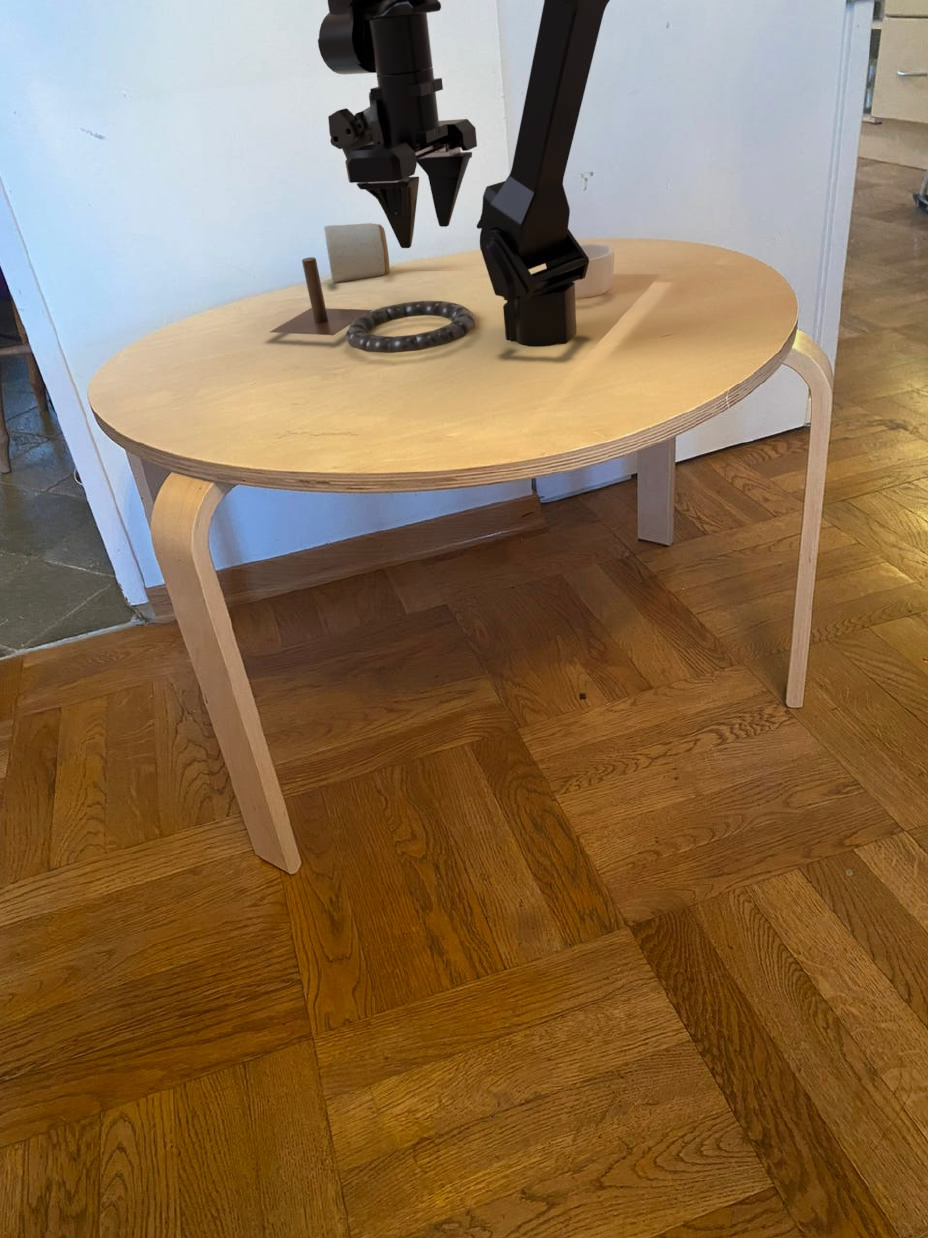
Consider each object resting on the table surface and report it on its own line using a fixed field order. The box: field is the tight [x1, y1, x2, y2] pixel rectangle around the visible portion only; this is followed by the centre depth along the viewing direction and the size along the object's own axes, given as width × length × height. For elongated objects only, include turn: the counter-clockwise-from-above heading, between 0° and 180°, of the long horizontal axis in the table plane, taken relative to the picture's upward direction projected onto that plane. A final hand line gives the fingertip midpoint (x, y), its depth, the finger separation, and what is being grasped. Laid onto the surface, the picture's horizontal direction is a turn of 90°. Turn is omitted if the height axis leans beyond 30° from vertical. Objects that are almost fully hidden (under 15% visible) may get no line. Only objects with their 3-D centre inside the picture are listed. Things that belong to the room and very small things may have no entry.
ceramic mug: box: [323, 222, 391, 284], centre depth 119 cm, size 11×8×8 cm
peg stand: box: [269, 256, 373, 336], centre depth 101 cm, size 9×9×8 cm
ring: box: [345, 300, 476, 354], centre depth 97 cm, size 14×14×2 cm
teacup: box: [574, 242, 615, 300], centre depth 102 cm, size 10×8×5 cm
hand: (425, 236), depth 96 cm, fingers open, 9 cm apart
